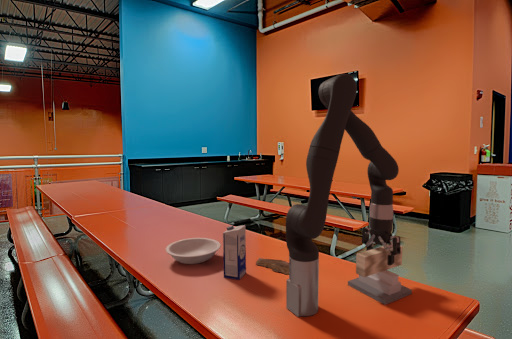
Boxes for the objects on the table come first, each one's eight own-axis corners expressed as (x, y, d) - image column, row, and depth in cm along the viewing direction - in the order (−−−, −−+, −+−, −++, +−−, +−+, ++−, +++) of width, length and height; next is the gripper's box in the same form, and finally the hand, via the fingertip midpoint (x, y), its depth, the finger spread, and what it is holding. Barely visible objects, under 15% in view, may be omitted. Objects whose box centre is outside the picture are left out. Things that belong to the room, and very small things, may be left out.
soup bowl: (195, 247, 155) (194, 234, 154) (232, 257, 141) (231, 243, 140) (154, 263, 135) (154, 248, 135) (192, 277, 122) (192, 261, 121)
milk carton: (239, 280, 118) (238, 229, 116) (223, 277, 121) (222, 227, 119) (246, 272, 125) (245, 224, 123) (231, 270, 127) (230, 223, 125)
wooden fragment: (249, 263, 135) (249, 261, 135) (266, 256, 143) (266, 254, 143) (298, 281, 118) (298, 278, 118) (313, 272, 126) (314, 269, 126)
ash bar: (364, 277, 103) (364, 257, 103) (355, 273, 107) (356, 253, 106) (401, 264, 113) (402, 246, 113) (393, 261, 117) (393, 243, 116)
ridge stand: (385, 304, 100) (386, 282, 99) (347, 284, 114) (348, 265, 113) (411, 293, 107) (412, 273, 106) (373, 276, 121) (374, 257, 120)
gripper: (357, 213, 112) (356, 256, 114) (392, 222, 100) (390, 270, 101) (371, 210, 116) (370, 252, 117) (406, 218, 104) (404, 265, 105)
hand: (379, 260), depth 109 cm, fingers open, 8 cm apart
